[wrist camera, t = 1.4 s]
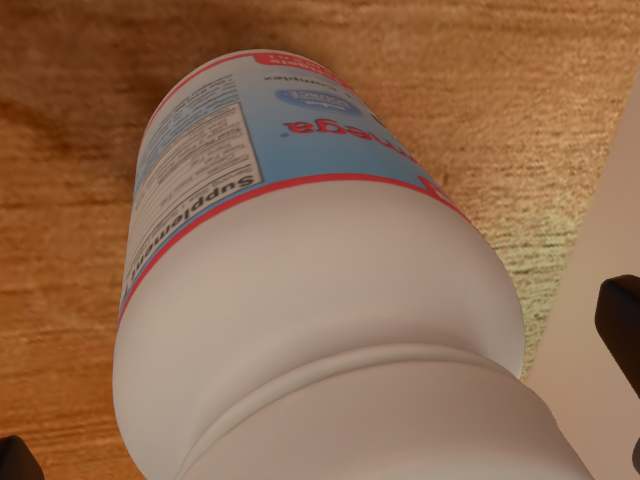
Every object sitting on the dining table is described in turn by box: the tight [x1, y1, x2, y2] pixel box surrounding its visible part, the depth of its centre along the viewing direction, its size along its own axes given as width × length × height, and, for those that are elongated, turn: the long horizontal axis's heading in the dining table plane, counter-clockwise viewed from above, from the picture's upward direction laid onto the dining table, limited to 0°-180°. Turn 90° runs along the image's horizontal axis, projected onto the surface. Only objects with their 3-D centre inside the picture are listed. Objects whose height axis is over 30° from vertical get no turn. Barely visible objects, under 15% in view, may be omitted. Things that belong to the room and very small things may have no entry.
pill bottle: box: [113, 49, 594, 480], centre depth 10 cm, size 6×6×11 cm
